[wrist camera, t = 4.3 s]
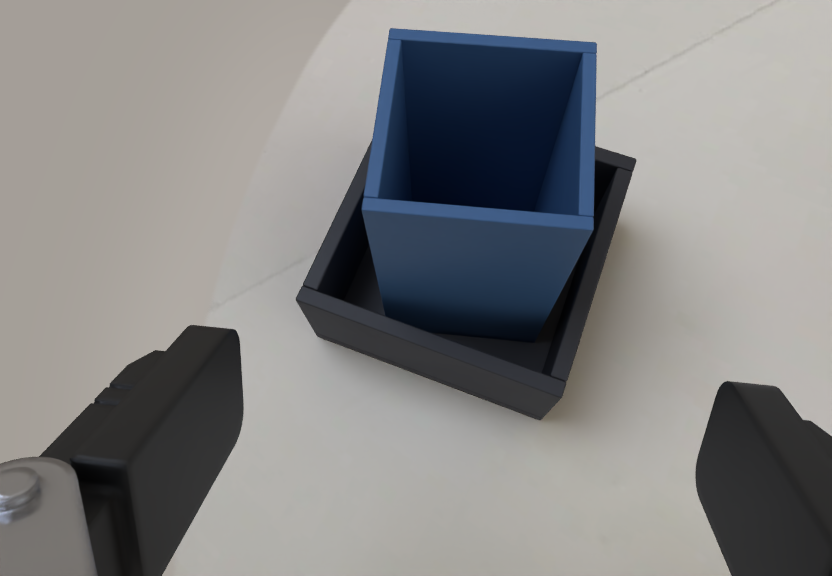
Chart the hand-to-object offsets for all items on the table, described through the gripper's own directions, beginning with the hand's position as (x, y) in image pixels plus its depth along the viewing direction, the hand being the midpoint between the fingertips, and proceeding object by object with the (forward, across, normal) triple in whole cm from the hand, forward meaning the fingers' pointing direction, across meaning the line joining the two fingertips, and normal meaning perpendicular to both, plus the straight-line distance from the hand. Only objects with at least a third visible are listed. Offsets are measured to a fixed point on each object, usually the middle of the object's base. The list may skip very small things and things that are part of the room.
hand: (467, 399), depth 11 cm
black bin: (+17, 0, +5) cm, 17 cm away
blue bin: (+16, 0, +4) cm, 17 cm away
